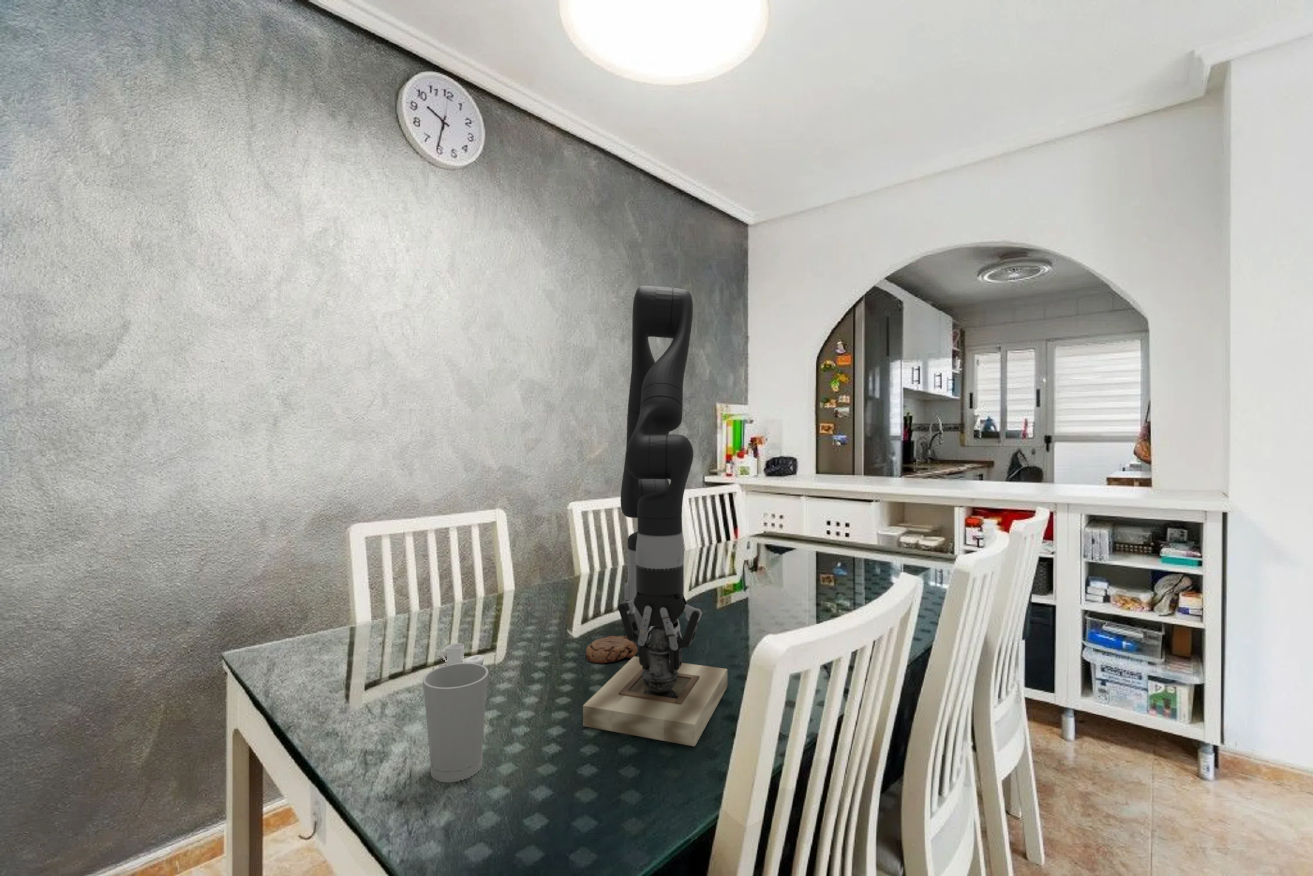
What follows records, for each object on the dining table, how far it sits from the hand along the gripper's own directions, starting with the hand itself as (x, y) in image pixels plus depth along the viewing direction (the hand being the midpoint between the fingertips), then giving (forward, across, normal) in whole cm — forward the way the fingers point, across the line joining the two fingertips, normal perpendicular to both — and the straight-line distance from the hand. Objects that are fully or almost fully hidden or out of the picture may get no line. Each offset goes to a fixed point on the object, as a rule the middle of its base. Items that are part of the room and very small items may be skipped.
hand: (660, 668), depth 93 cm
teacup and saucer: (+6, +38, 0) cm, 39 cm away
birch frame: (+6, 0, 0) cm, 6 cm away
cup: (+6, +19, +25) cm, 32 cm away
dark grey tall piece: (+4, 0, 0) cm, 4 cm away
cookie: (+6, +16, -17) cm, 24 cm away
